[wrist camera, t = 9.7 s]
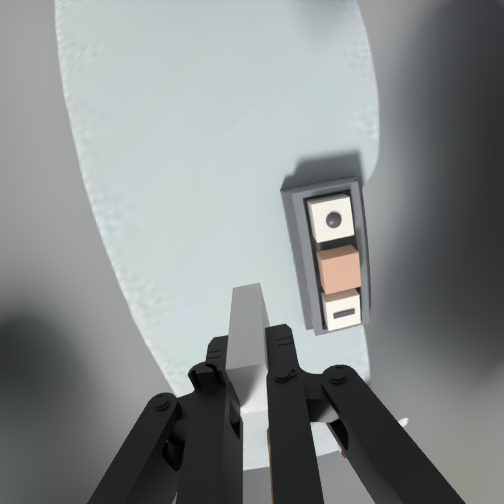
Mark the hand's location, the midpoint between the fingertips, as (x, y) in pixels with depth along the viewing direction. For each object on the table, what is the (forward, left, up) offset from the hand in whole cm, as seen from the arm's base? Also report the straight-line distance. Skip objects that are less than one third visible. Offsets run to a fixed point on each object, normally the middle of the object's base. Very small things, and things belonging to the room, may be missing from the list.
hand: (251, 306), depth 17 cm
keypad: (+1, +14, -26) cm, 30 cm away
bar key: (+6, +18, -24) cm, 31 cm away
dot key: (-4, +9, -24) cm, 26 cm away
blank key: (+1, +14, -23) cm, 27 cm away
